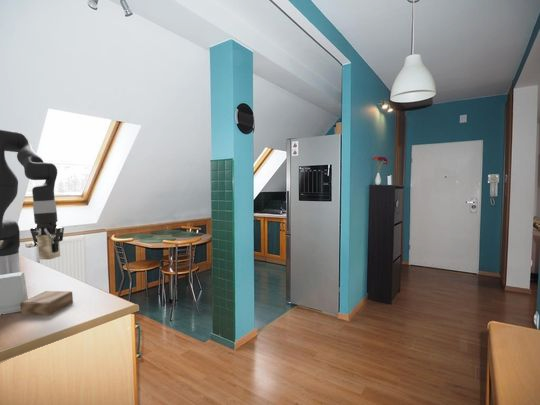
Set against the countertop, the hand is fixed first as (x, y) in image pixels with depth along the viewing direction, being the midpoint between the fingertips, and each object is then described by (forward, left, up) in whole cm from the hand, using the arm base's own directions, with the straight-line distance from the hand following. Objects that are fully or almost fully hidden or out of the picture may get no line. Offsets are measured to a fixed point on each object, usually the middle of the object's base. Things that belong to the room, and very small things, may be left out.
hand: (49, 252), depth 122 cm
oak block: (0, 0, -2) cm, 2 cm away
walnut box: (+1, -4, -23) cm, 23 cm away
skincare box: (-11, -8, -22) cm, 26 cm away
